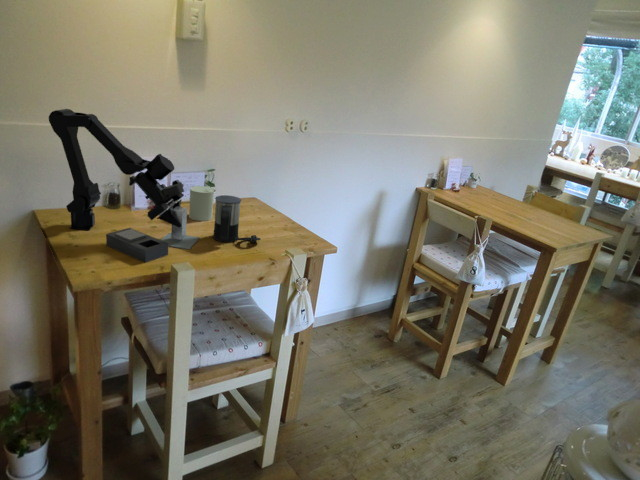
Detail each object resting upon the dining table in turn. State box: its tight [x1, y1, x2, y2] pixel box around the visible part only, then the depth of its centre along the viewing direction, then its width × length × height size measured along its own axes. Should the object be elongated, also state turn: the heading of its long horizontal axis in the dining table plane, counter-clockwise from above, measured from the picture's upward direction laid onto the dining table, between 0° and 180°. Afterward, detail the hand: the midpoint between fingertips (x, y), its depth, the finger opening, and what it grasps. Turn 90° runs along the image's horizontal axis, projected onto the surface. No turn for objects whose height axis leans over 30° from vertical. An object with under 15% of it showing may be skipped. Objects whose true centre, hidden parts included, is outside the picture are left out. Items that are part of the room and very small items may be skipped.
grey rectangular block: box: [170, 206, 188, 240], centre depth 165 cm, size 4×4×10 cm
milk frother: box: [212, 194, 261, 243], centre depth 173 cm, size 14×16×15 cm
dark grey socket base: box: [105, 227, 169, 264], centre depth 155 cm, size 18×9×5 cm, turn 59°
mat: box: [160, 232, 200, 250], centre depth 167 cm, size 11×11×1 cm
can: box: [188, 185, 215, 222], centre depth 191 cm, size 9×9×12 cm
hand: (183, 224), depth 165 cm, fingers closed on grey rectangular block, 4 cm apart
